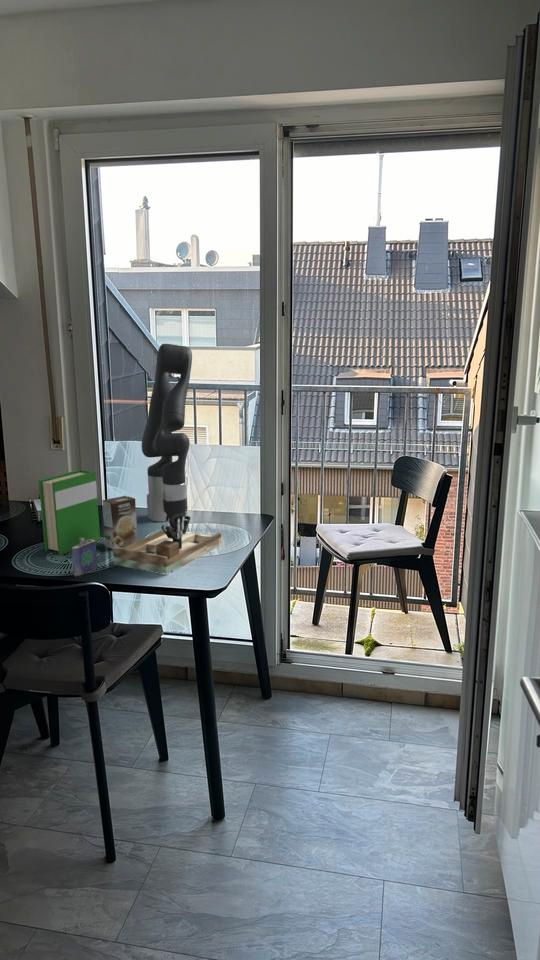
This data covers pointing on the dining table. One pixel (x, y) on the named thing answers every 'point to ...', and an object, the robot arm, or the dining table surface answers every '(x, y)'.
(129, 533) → the coffee box
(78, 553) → the flask
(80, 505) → the hardback book
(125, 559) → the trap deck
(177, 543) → the walnut block
